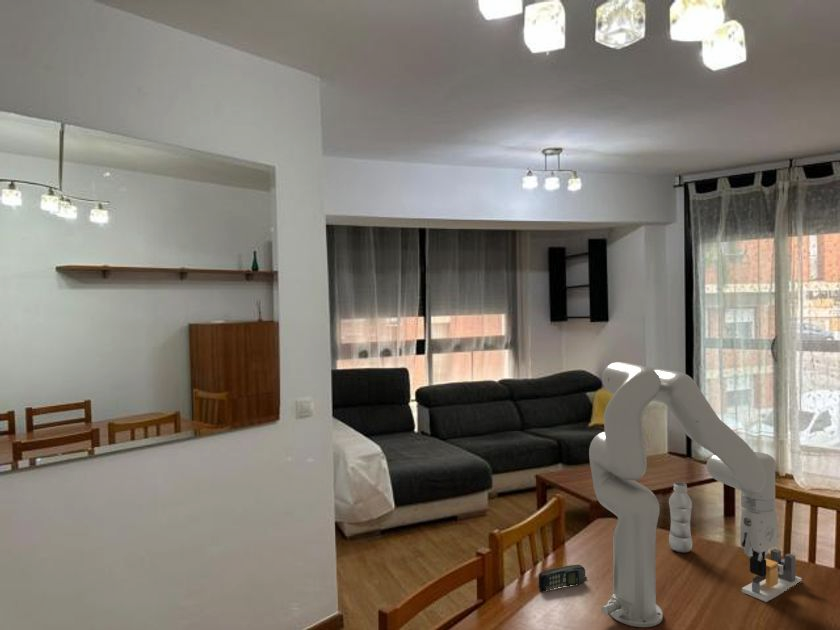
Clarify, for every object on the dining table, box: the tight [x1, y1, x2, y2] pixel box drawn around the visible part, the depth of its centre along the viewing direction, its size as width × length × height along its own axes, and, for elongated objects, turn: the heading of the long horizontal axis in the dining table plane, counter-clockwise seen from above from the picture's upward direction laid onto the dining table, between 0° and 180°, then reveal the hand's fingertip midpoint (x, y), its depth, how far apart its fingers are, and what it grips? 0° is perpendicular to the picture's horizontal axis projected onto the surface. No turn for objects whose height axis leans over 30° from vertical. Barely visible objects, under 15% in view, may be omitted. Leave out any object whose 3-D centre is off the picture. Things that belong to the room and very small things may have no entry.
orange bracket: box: [753, 558, 778, 588], centre depth 147 cm, size 4×4×6 cm
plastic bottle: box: [668, 481, 693, 553], centre depth 171 cm, size 6×7×20 cm
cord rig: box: [741, 548, 802, 603], centre depth 149 cm, size 18×6×8 cm, turn 122°
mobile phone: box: [538, 564, 588, 592], centre depth 152 cm, size 5×3×15 cm
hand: (758, 573), depth 145 cm, fingers closed
